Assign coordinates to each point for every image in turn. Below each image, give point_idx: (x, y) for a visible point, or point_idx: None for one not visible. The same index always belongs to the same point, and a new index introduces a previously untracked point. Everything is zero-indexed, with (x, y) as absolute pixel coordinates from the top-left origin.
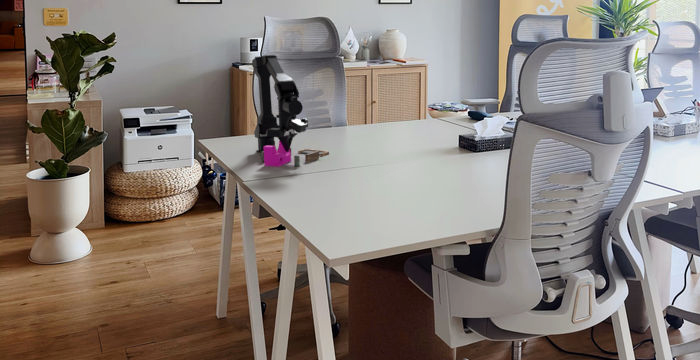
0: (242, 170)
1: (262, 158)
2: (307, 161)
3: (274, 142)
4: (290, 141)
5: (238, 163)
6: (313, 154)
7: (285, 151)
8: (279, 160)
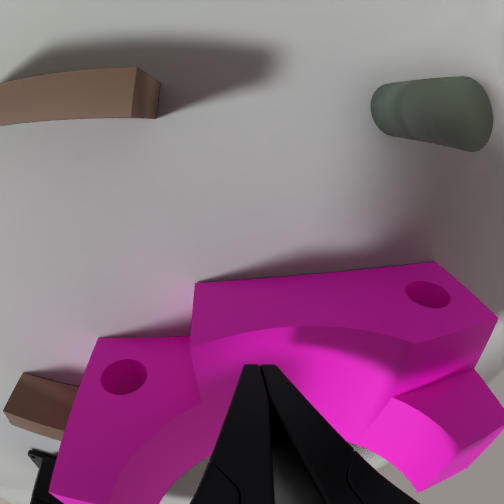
0: (494, 364)
1: None
2: (159, 87)
3: (37, 491)
4: (263, 497)
5: (364, 458)
6: (16, 82)
7: (188, 408)
8: (454, 288)
